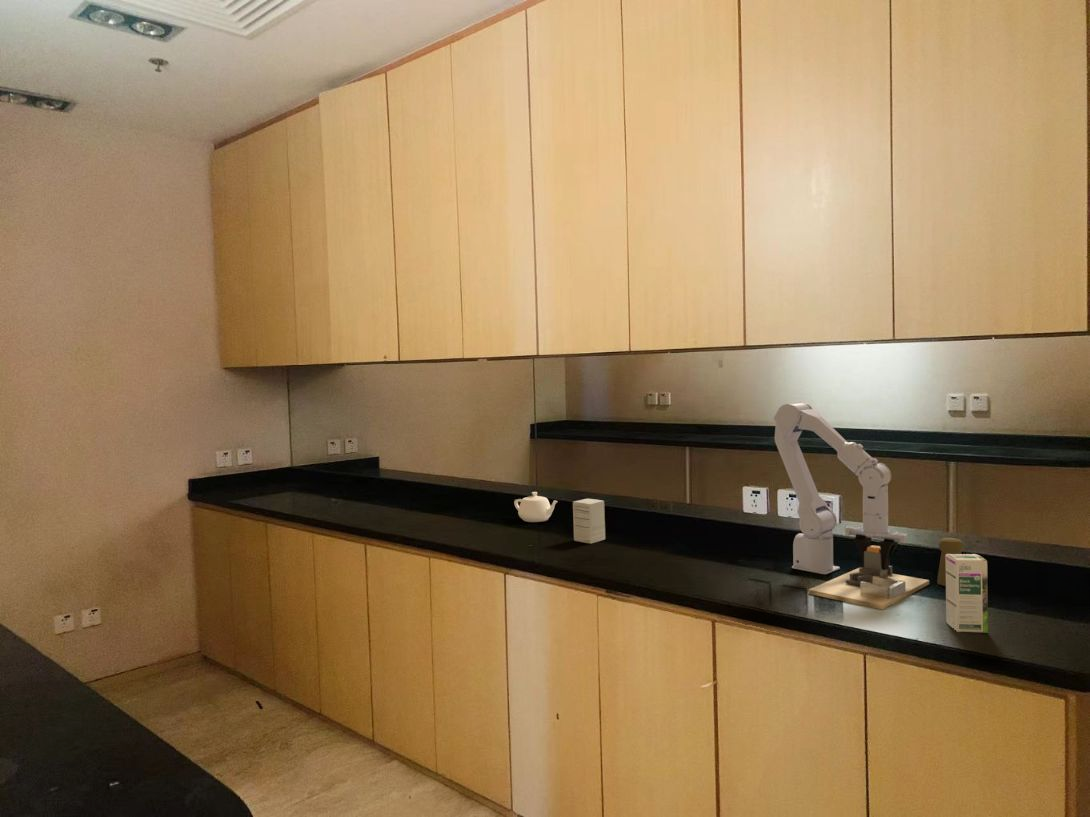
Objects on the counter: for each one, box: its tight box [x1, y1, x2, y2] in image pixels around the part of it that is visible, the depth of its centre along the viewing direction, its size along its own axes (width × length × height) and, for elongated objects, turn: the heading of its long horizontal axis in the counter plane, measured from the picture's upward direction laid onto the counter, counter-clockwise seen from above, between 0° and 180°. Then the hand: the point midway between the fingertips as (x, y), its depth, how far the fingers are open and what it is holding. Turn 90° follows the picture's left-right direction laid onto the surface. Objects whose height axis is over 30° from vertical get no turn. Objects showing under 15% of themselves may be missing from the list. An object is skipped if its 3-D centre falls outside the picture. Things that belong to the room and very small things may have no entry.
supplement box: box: [572, 498, 606, 544], centre depth 232 cm, size 7×7×13 cm
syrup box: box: [945, 553, 989, 634], centre depth 146 cm, size 6×6×14 cm
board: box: [808, 567, 930, 610], centre depth 173 cm, size 17×26×1 cm, turn 132°
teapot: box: [513, 491, 558, 523], centre depth 268 cm, size 20×12×10 cm, turn 52°
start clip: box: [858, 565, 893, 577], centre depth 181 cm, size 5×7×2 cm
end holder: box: [860, 576, 906, 599], centre depth 167 cm, size 7×8×2 cm
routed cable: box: [846, 576, 873, 586], centre depth 174 cm, size 8×8×1 cm
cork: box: [936, 537, 964, 587], centre depth 175 cm, size 6×6×11 cm
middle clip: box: [850, 572, 872, 583], centre depth 175 cm, size 4×3×2 cm
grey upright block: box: [863, 544, 888, 577], centre depth 182 cm, size 6×4×7 cm
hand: (875, 567), depth 181 cm, fingers closed on grey upright block, 4 cm apart
